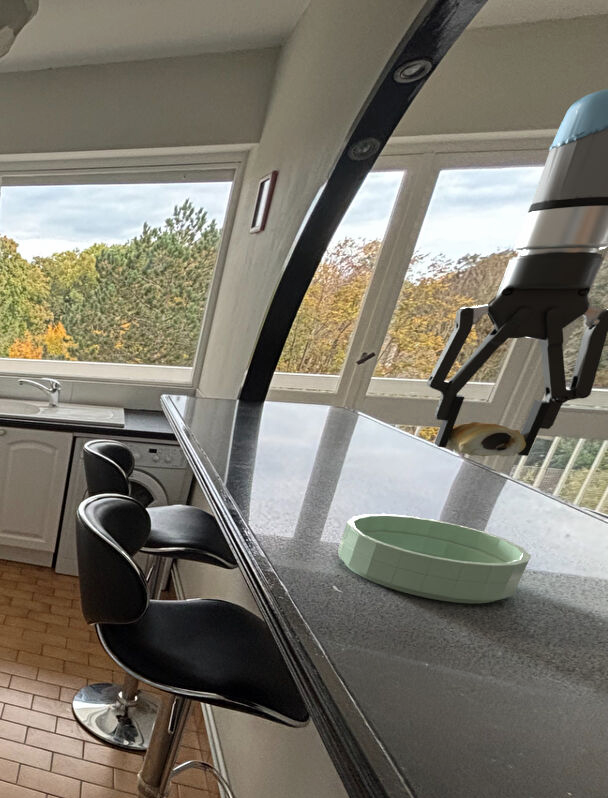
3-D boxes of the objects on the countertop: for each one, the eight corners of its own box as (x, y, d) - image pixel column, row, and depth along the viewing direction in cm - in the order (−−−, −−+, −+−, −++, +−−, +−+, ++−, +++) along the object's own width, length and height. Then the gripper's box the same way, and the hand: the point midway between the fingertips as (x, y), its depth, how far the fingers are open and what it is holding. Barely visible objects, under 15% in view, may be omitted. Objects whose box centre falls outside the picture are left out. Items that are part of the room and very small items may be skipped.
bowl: (488, 566, 75) (504, 529, 73) (533, 621, 62) (554, 578, 60) (331, 540, 82) (342, 506, 81) (342, 583, 70) (354, 545, 68)
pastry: (425, 440, 82) (435, 412, 81) (484, 444, 80) (496, 416, 79) (461, 455, 74) (473, 425, 73) (529, 460, 72) (542, 429, 71)
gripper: (671, 253, 66) (578, 454, 74) (437, 257, 75) (379, 434, 84) (708, 247, 60) (602, 467, 68) (449, 253, 70) (385, 444, 78)
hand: (479, 449), depth 76 cm, fingers closed on pastry, 7 cm apart
